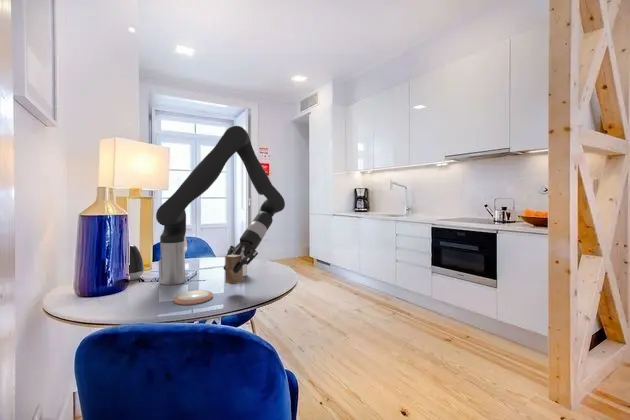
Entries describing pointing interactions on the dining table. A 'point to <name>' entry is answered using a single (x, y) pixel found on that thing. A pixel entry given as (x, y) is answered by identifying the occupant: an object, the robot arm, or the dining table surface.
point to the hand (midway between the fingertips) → (230, 270)
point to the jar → (244, 269)
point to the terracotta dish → (193, 297)
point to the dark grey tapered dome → (135, 263)
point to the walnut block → (229, 265)
